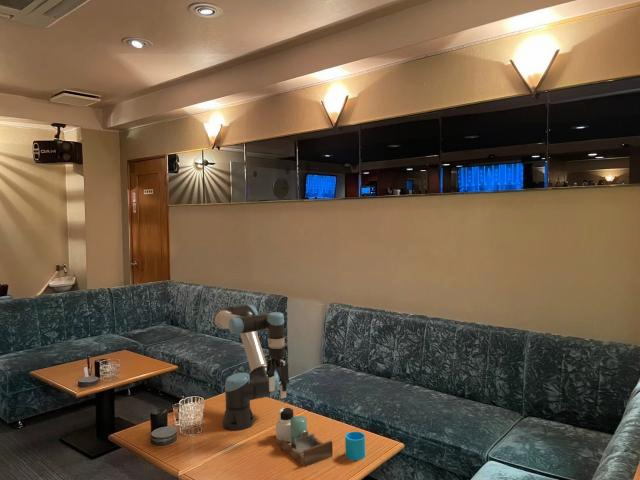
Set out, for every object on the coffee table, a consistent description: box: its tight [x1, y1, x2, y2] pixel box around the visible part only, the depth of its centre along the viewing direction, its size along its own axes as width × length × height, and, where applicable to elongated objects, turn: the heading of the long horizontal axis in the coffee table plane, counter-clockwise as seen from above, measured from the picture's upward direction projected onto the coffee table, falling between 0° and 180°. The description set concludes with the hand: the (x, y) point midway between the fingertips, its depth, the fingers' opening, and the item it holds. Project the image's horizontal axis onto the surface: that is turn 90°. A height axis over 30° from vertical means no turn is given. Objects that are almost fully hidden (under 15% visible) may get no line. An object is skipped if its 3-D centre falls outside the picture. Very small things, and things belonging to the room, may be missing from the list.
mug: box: [344, 431, 366, 461], centre depth 191 cm, size 12×8×8 cm
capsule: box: [290, 415, 308, 448], centre depth 197 cm, size 7×7×12 cm
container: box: [275, 407, 294, 443], centre depth 206 cm, size 8×8×13 cm
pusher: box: [294, 429, 315, 453], centre depth 194 cm, size 1×9×8 cm, turn 125°
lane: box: [275, 432, 334, 467], centre depth 194 cm, size 23×13×6 cm, turn 35°
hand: (277, 394), depth 212 cm, fingers open, 10 cm apart
